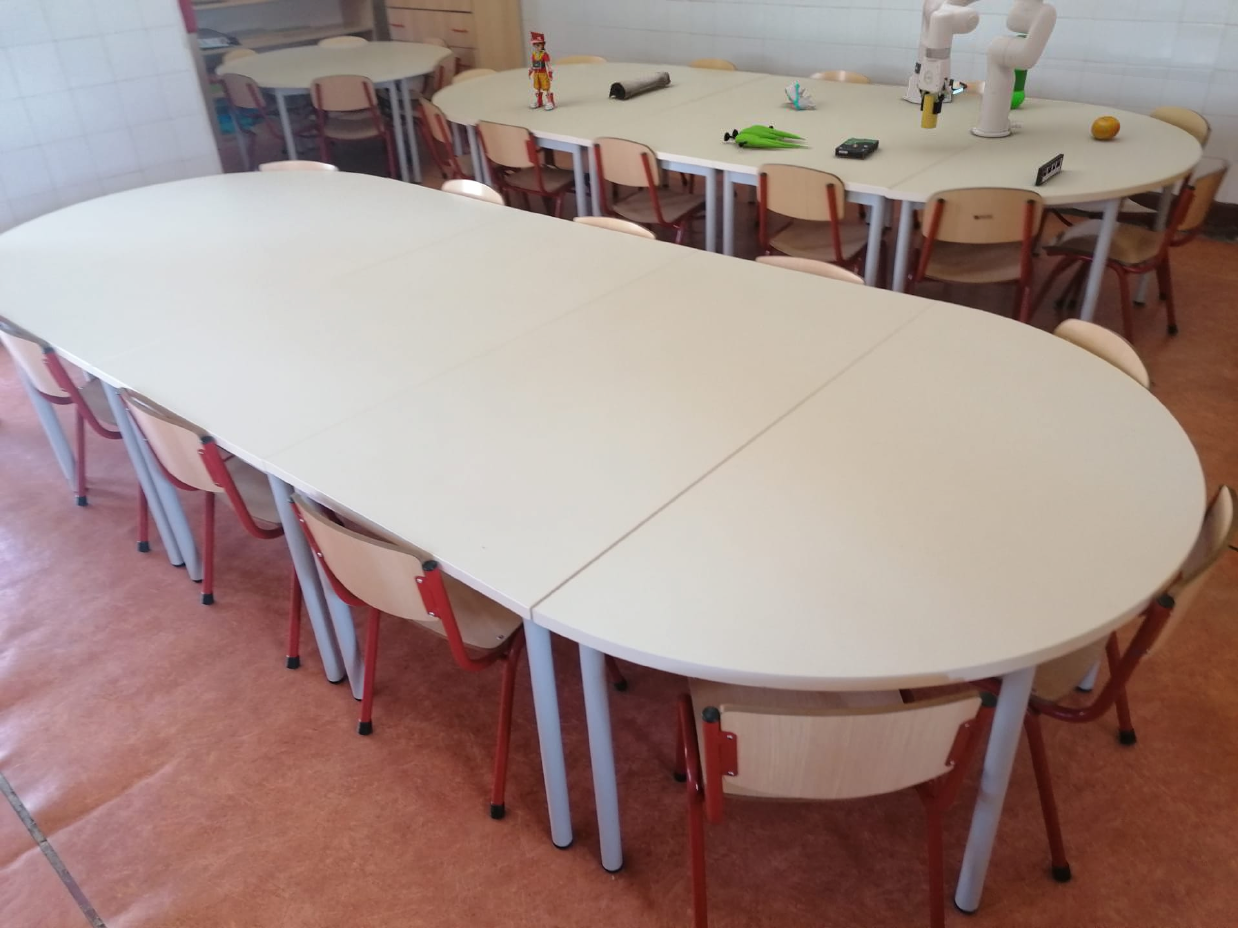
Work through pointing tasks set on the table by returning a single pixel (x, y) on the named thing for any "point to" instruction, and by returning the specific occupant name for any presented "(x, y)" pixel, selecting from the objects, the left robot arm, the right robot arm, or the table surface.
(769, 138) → the toy
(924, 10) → the left robot arm
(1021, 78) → the green dumbbell
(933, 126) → the tin
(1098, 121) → the fruit
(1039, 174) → the midi keyboard
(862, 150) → the disk drive
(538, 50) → the toy
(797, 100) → the anatomical model
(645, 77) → the rolled mat
